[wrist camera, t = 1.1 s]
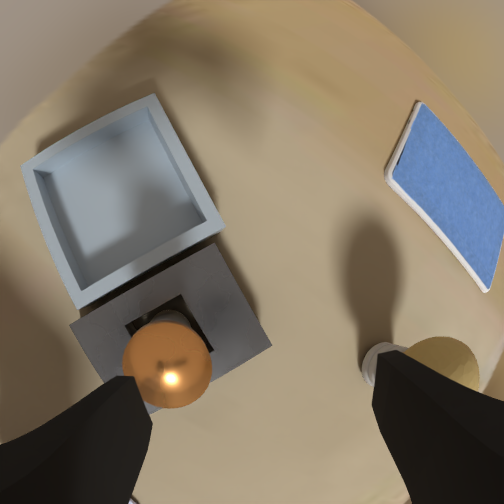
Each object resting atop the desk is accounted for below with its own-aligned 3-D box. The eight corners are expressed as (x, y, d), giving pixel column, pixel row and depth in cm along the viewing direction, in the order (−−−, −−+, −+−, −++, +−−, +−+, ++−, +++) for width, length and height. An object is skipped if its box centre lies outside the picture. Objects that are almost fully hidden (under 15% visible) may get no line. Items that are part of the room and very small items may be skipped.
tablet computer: (377, 180, 24) (386, 176, 23) (414, 100, 27) (421, 95, 25) (480, 296, 27) (489, 296, 26) (501, 212, 30) (509, 211, 28)
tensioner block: (136, 407, 18) (132, 422, 15) (80, 319, 17) (69, 325, 15) (261, 337, 20) (272, 345, 18) (210, 246, 20) (214, 242, 17)
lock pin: (161, 366, 18) (155, 421, 11) (132, 320, 18) (105, 349, 10) (207, 341, 19) (228, 382, 12) (179, 293, 19) (181, 307, 11)
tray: (88, 305, 18) (77, 310, 15) (34, 176, 17) (20, 165, 15) (219, 232, 20) (225, 226, 18) (155, 111, 19) (154, 92, 17)
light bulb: (331, 354, 21) (425, 395, 12) (391, 309, 23) (490, 321, 13) (358, 412, 22) (440, 463, 12) (411, 368, 23) (497, 395, 14)
